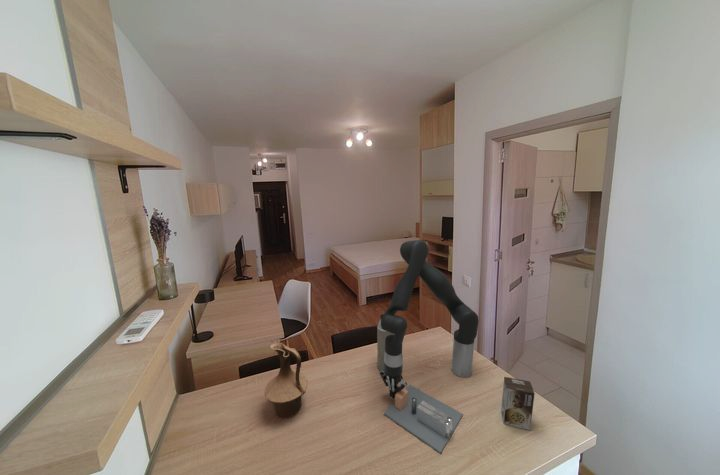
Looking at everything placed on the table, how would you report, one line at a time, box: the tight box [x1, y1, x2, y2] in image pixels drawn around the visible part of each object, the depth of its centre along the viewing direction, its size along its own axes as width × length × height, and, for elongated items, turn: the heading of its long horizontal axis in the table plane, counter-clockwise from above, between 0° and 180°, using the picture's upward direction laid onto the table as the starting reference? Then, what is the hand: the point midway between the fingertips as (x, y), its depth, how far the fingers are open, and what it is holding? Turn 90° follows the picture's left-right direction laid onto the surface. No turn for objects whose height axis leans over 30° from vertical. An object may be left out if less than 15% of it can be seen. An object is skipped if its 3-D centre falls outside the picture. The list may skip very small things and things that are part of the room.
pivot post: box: [412, 397, 417, 414], centre depth 105 cm, size 2×2×6 cm
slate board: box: [383, 384, 464, 455], centre depth 105 cm, size 20×24×1 cm
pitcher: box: [264, 342, 309, 419], centre depth 107 cm, size 18×17×28 cm
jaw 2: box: [417, 405, 450, 438], centre depth 99 cm, size 12×2×6 cm, turn 49°
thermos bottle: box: [376, 313, 395, 372], centre depth 130 cm, size 8×8×28 cm
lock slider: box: [394, 388, 408, 410], centre depth 109 cm, size 3×5×6 cm, turn 138°
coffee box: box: [500, 376, 535, 431], centre depth 101 cm, size 9×6×16 cm
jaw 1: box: [420, 401, 453, 434], centre depth 100 cm, size 12×2×6 cm, turn 48°
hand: (392, 396), depth 112 cm, fingers closed
